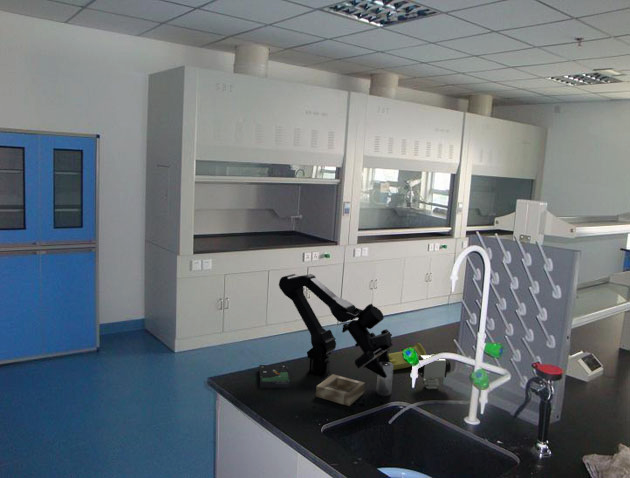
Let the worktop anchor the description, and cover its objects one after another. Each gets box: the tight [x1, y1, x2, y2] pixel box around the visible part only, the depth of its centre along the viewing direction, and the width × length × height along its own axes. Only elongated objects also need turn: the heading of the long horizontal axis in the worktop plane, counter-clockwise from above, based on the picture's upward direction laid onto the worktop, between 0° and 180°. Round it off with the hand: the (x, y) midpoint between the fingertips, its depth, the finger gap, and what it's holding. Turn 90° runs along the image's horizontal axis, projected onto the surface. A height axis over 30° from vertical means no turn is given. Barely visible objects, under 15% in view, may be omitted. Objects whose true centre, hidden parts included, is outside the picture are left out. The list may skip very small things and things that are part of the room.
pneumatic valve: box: [417, 353, 452, 390], centre depth 179 cm, size 6×12×12 cm, turn 99°
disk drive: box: [258, 364, 291, 389], centre depth 179 cm, size 10×3×15 cm
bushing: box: [375, 362, 394, 397], centre depth 172 cm, size 5×5×10 cm
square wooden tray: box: [315, 373, 366, 407], centre depth 169 cm, size 12×12×4 cm
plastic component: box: [375, 343, 427, 371], centre depth 199 cm, size 20×7×10 cm
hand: (389, 375), depth 171 cm, fingers closed on bushing, 5 cm apart
